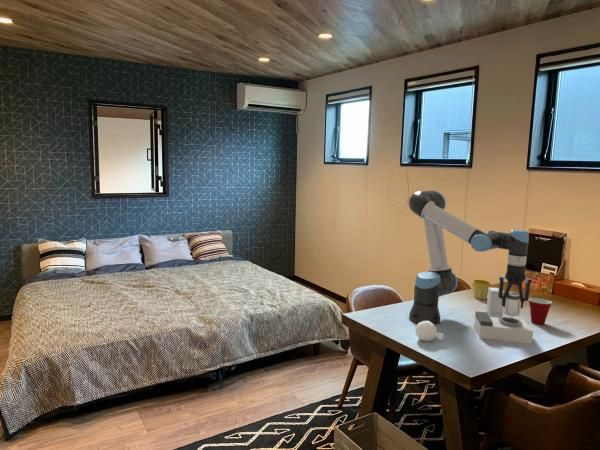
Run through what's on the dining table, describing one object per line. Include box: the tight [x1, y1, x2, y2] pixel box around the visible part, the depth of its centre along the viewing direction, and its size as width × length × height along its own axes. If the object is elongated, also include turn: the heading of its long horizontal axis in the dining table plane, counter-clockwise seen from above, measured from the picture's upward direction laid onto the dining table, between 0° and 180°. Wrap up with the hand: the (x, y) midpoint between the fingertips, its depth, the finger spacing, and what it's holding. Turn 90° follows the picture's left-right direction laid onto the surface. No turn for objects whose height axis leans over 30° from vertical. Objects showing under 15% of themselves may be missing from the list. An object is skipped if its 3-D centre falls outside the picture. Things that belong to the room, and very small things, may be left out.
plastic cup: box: [528, 297, 553, 326], centre depth 226 cm, size 11×11×12 cm
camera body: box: [473, 310, 534, 345], centre depth 207 cm, size 22×14×8 cm, turn 78°
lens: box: [505, 291, 520, 317], centre depth 205 cm, size 5×5×10 cm
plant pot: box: [471, 279, 492, 300], centre depth 266 cm, size 10×10×10 cm
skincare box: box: [486, 287, 505, 318], centre depth 229 cm, size 8×7×16 cm
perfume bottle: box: [415, 321, 445, 342], centre depth 197 cm, size 9×9×12 cm
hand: (511, 313), depth 206 cm, fingers closed on lens, 5 cm apart
